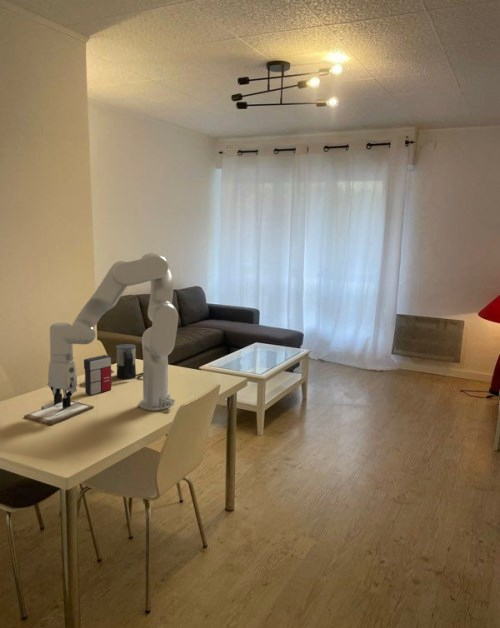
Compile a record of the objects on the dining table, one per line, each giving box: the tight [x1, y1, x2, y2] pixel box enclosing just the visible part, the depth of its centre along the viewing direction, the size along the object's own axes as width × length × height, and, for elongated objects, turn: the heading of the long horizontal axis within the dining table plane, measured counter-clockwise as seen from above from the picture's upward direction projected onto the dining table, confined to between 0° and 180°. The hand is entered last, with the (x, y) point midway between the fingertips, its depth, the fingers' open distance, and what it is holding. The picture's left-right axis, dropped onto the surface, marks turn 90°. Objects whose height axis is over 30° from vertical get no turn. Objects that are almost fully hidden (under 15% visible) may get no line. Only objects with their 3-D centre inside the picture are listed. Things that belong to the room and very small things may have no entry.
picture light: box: [53, 400, 81, 414], centre depth 175 cm, size 14×4×2 cm, turn 160°
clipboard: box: [23, 400, 95, 426], centre depth 179 cm, size 14×20×2 cm
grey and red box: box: [83, 354, 112, 396], centre depth 202 cm, size 11×4×15 cm, turn 143°
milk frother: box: [115, 343, 143, 380], centre depth 226 cm, size 14×16×15 cm
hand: (62, 405), depth 175 cm, fingers closed on picture light, 3 cm apart
